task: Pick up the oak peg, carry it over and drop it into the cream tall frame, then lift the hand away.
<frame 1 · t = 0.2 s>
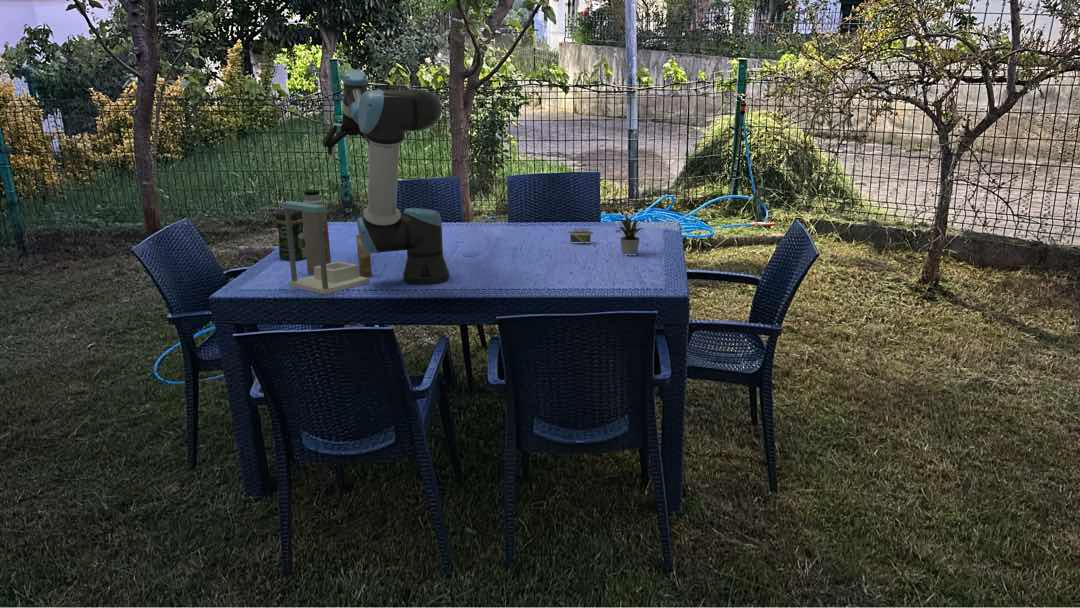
hand: (351, 160, 283), 35 cm above the table, tool tilted 35°, fingers open, 13 cm apart
oak peg: (365, 276, 261), on the table
thermos bottle: (320, 273, 267), on the table
platform: (580, 245, 307), on the table
cream tall frame: (329, 284, 251), on the table
coffee jar: (293, 259, 289), on the table
house plant: (626, 255, 288), on the table
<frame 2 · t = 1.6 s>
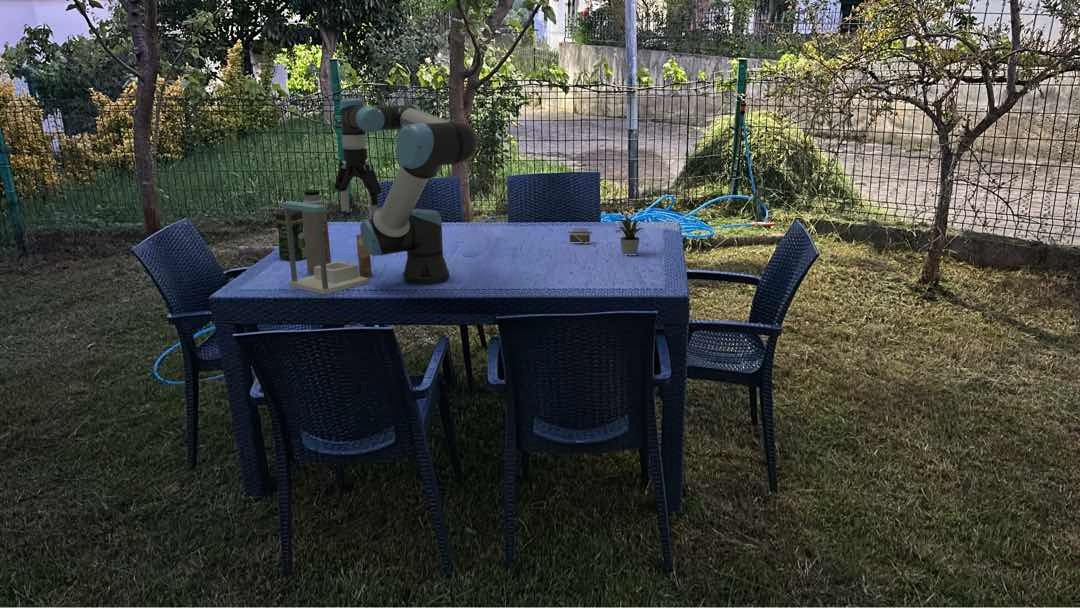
hand: (359, 212, 257), 21 cm above the table, tool pointing down, fingers open, 13 cm apart
nothing on the table moved.
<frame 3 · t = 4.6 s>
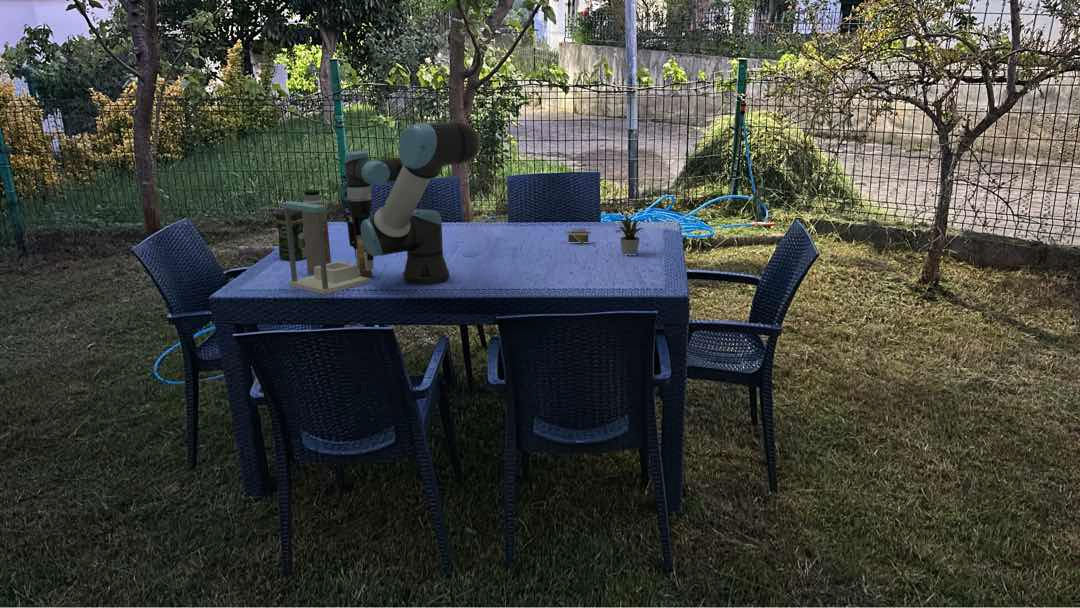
hand: (365, 268, 261), 3 cm above the table, tool pointing down, fingers closed on oak peg, 4 cm apart
oak peg: (365, 276, 261), on the table, touching gripper
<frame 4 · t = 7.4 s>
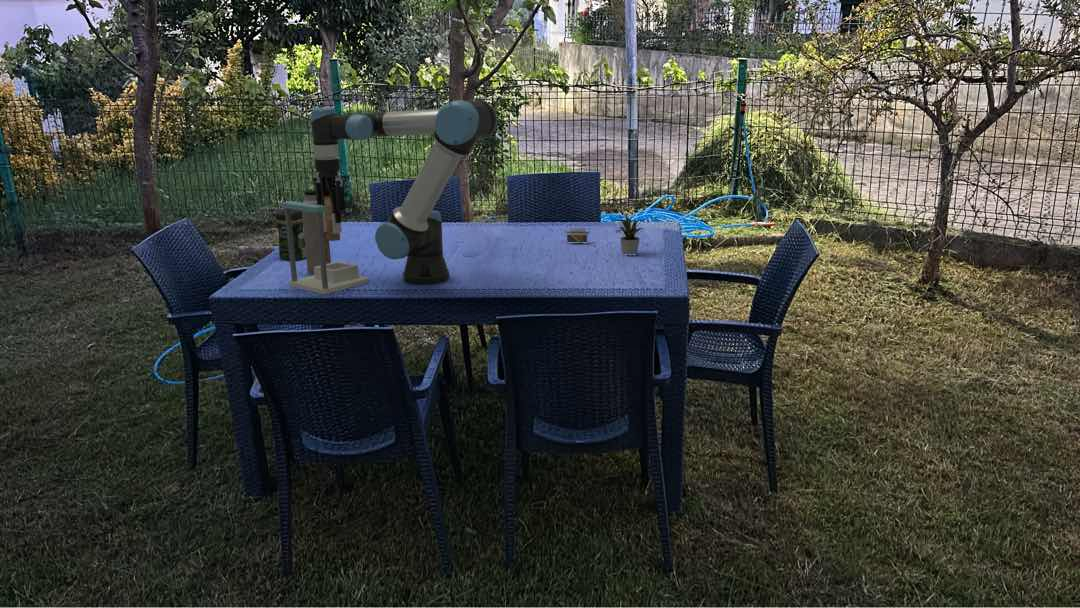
hand: (333, 231, 249), 17 cm above the table, tool pointing down, fingers closed on oak peg, 4 cm apart
oak peg: (333, 239, 250), point 14 cm above the table, touching gripper
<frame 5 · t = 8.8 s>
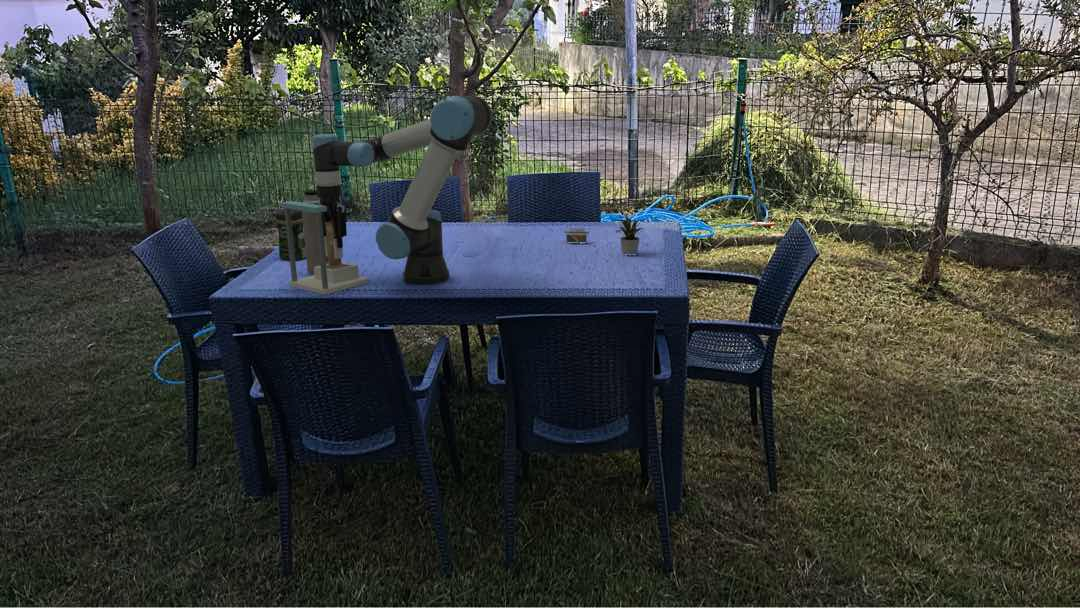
hand: (334, 256, 251), 9 cm above the table, tool pointing down, fingers closed on oak peg, 4 cm apart
oak peg: (335, 264, 252), point 6 cm above the table, touching gripper
when the fingers open (7 cm above the table, at t = 10.2 s): oak peg drops 1 cm, resting on cream tall frame.
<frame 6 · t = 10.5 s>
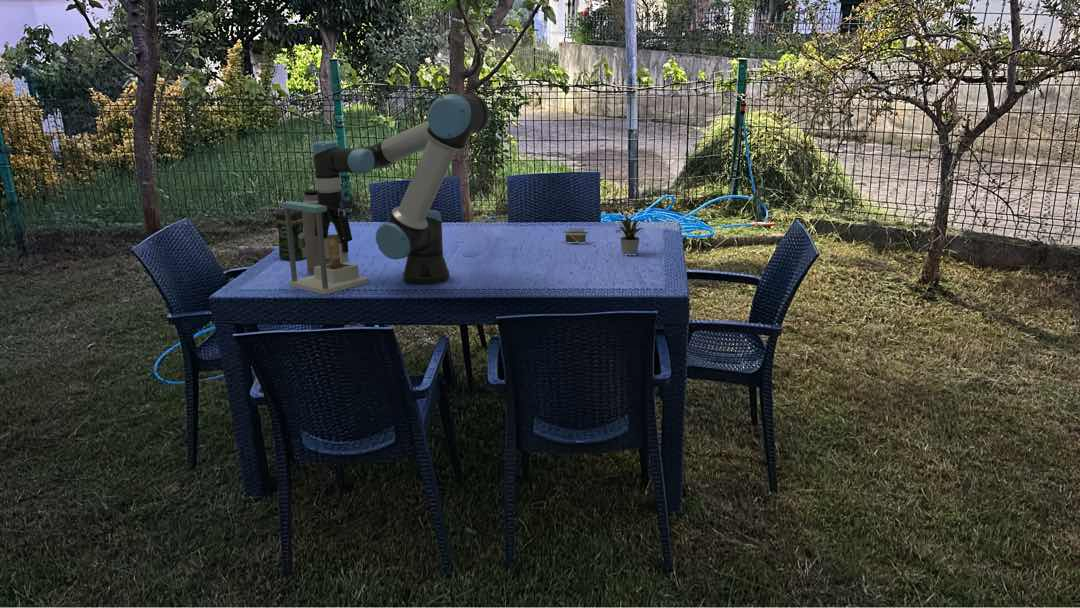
hand: (335, 260, 252), 7 cm above the table, tool pointing down, fingers open, 9 cm apart
oak peg: (337, 277, 253), point 2 cm above the table, touching cream tall frame
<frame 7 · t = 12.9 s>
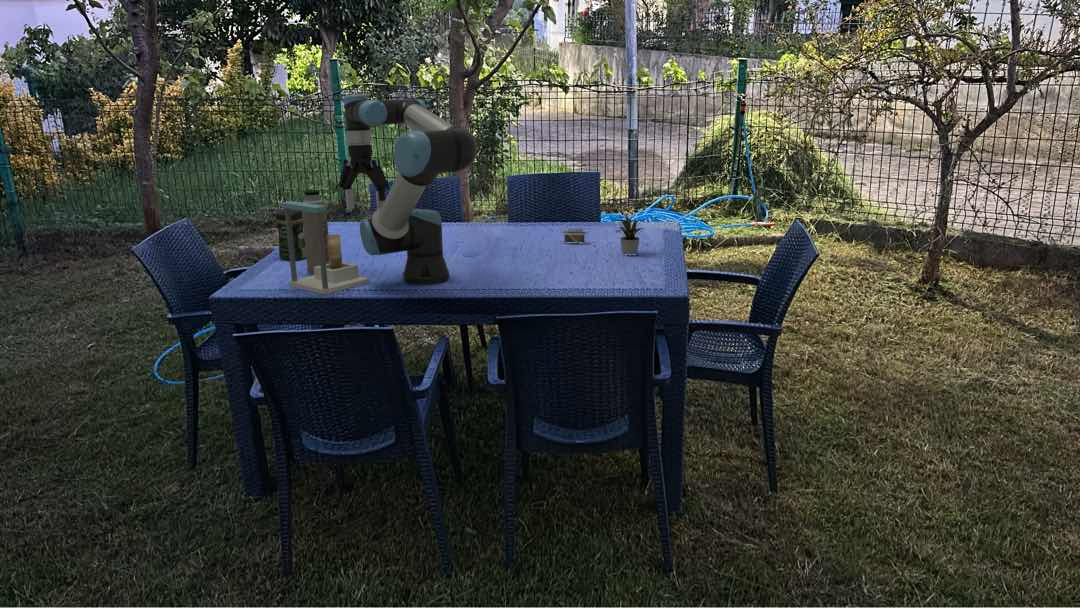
hand: (365, 210, 254), 22 cm above the table, tool pointing down, fingers open, 13 cm apart
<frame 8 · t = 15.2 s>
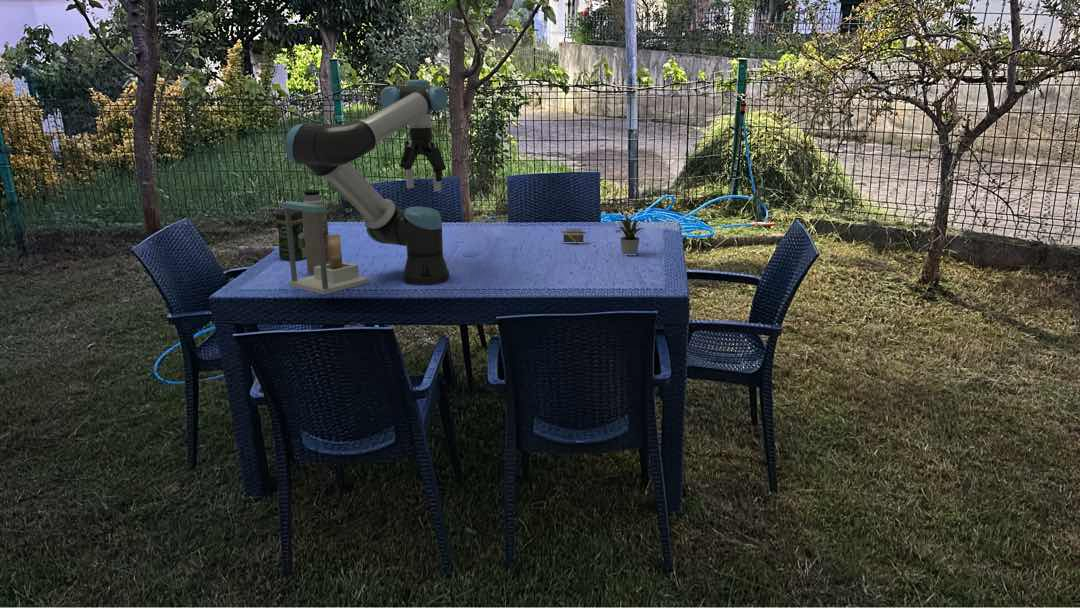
hand: (423, 189, 269), 27 cm above the table, tool pointing down, fingers open, 13 cm apart
at the end: oak peg 0.1 cm from the target spot on the cream tall frame, point 1.5 cm above the cream tall frame's base; oak peg tilted 0°; the gripper is holding nothing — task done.
